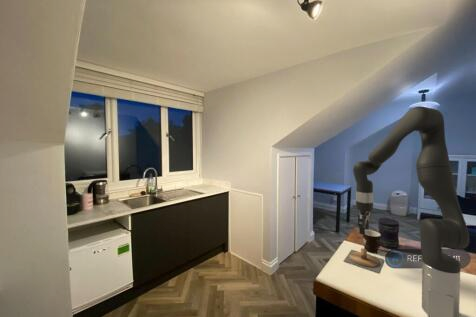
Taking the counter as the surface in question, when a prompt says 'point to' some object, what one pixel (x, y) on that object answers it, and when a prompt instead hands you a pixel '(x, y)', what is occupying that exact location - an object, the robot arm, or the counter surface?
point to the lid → (364, 259)
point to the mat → (374, 269)
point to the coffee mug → (371, 241)
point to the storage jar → (388, 233)
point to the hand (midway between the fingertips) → (364, 231)
